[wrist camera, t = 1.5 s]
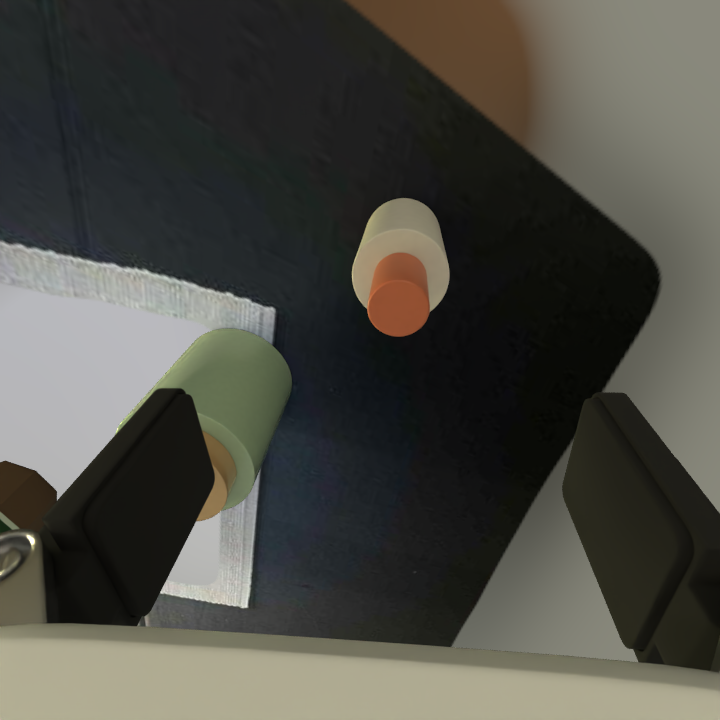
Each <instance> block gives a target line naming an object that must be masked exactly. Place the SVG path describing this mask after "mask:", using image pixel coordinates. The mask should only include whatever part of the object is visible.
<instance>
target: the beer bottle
mask: <svg viewBox="0 0 720 720" xmlns="http://www.w3.org/2000/svg"><path fill="white" fill-rule="evenodd" d="M56 502H57V491H56V490H55V489H54V488H53V487H52V486H51V485H50V484H49V483H48V482H47V481H46V480H45V479H44V478H43V477H42V476H40V475H39V474H38V473H37V472H36V471H35V470H31V469H29V468H26V467H23V466H19V465H17V464H14V463H11V462H8V461H3V462H0V533H3V532H6V531H9V530H14V529H21V528H24V529H32V530H34V531H35V532H38V531H39V530H40V529H41V528H42V527H43V526H44V522H43V521H42V517H43V516H44V515H45V514H46V513H47V512H48V511H49V510H50V508H51V507H52V506H53V505H54V504H55V503H56Z"/></svg>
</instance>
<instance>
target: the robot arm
mask: <svg viewBox="0 0 720 720" xmlns="http://www.w3.org/2000/svg"><path fill="white" fill-rule="evenodd" d="M214 482H215V473H214V469H213V466H212V462H211V459H210V456H209V452H208V449H207V445H206V442H205V439H204V435H203V432H202V428H201V425H200V421H199V418H198V415H197V411H196V408H195V404H194V401H193V398H192V396H191V395H189V394H186V392H185V391H184V390H183V389H181V388H158V389H156V390H155V391H154V392H153V393H152V394H151V395H150V397H149V398H148V399H147V400H146V401H145V402H144V403H143V405H142V406H141V407H140V408H139V409H138V410H137V411H136V412H135V414H134V415H133V416H132V417H131V418H130V419H129V420H128V421H127V423H126V424H125V425H124V426H123V427H122V428H121V429H120V430H119V432H118V433H117V434H116V435H115V436H114V437H113V438H112V440H111V441H110V442H109V443H108V444H107V445H106V446H105V448H104V449H103V450H102V451H101V452H100V453H99V454H98V455H97V457H96V458H95V459H94V460H93V461H92V462H91V463H90V464H89V466H88V467H87V468H86V469H85V470H84V471H83V472H82V473H81V475H80V476H79V477H78V478H77V479H76V480H75V481H74V482H73V484H72V485H71V486H70V487H69V488H68V489H67V491H65V493H64V494H63V495H62V496H61V497H60V498H59V499H58V501H57V502H56V503H55V504H54V505H53V506H52V507H51V508H50V510H49V511H48V512H47V513H46V514H45V515H44V516H43V517H42V521H43V522H44V526H43V527H42V528H41V529H40V530H39V531H38V532H35V531H34V530H32V529H24V528H21V529H14V530H9V531H6V532H3V533H0V720H720V513H719V512H718V511H717V510H716V509H715V507H714V506H713V504H712V503H711V502H710V501H709V499H708V498H707V497H706V495H705V494H704V493H703V492H702V490H701V489H700V488H699V486H698V485H697V484H696V483H695V481H694V480H693V479H692V478H691V476H690V475H689V474H688V472H687V471H686V470H685V468H684V467H683V466H682V465H681V463H680V462H679V461H678V460H677V459H676V458H675V457H674V455H673V454H672V453H671V451H670V450H669V449H668V448H667V446H666V445H665V444H664V442H663V441H662V440H661V439H660V437H659V436H658V435H657V433H656V432H655V431H654V429H653V428H652V427H651V426H650V424H649V423H648V422H647V420H646V419H645V418H644V417H643V415H642V414H641V413H640V411H639V410H638V409H637V408H636V406H635V405H634V404H633V403H632V401H631V400H630V398H629V397H628V396H627V395H626V394H624V393H599V392H597V393H595V394H594V395H593V396H592V399H586V400H585V401H584V403H583V407H582V411H581V415H580V418H579V422H578V426H577V430H576V434H575V438H574V442H573V446H572V450H571V454H570V458H569V461H568V465H567V469H566V473H565V477H564V481H563V486H562V488H563V489H562V490H563V497H564V501H565V503H566V506H567V508H568V510H569V513H570V515H571V518H572V520H573V523H574V525H575V527H576V530H577V533H578V535H579V537H580V540H581V542H582V545H583V547H584V550H585V552H586V555H587V557H588V559H589V562H590V564H591V567H592V569H593V572H594V574H595V577H596V579H597V582H598V584H599V587H600V589H601V591H602V594H603V596H604V599H605V601H606V604H607V606H608V608H609V611H610V614H611V616H612V618H613V621H614V623H615V626H616V628H617V631H618V633H619V635H620V638H621V640H622V642H623V644H624V645H625V646H626V647H627V648H629V649H633V650H634V652H635V655H636V657H637V659H638V662H629V661H618V660H607V659H596V658H585V657H574V656H561V655H549V654H535V653H522V652H508V651H495V650H481V649H467V648H455V647H442V646H428V645H414V644H400V643H385V642H371V641H357V640H342V639H328V638H313V637H298V636H284V635H269V634H253V633H237V632H222V631H206V630H190V629H174V628H159V627H142V626H137V625H138V623H139V621H140V619H141V617H142V616H146V615H147V614H148V613H149V612H150V611H151V609H152V607H153V605H154V603H155V601H156V599H157V597H158V595H159V593H160V591H161V589H162V587H163V586H164V584H165V582H166V580H167V578H168V576H169V574H170V571H171V570H172V568H173V566H174V564H175V562H176V560H177V558H178V556H179V554H180V552H181V550H182V548H183V546H184V544H185V542H186V540H187V538H188V536H189V534H190V532H191V530H192V528H193V526H194V524H195V522H196V520H197V518H198V516H199V514H200V512H201V510H202V508H203V506H204V504H205V502H206V500H207V499H208V497H209V495H210V493H211V491H212V489H213V486H214Z"/></svg>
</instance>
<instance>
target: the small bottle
mask: <svg viewBox="0 0 720 720" xmlns="http://www.w3.org/2000/svg"><path fill="white" fill-rule="evenodd" d="M352 282H353V287H354V290H355V293H356V295H357V297H358V299H359V300H360V302H361V303H362V304H363V305H364V306H365V307H366V308H367V311H368V316H369V318H370V320H371V322H372V324H373V325H374V326H375V327H376V328H377V329H378V330H379V331H381V332H383V333H385V334H387V335H390V336H397V337H400V336H407V335H410V334H412V333H414V332H416V331H417V330H419V329H420V328H421V327H422V326H423V325H424V324H425V322H426V320H427V318H428V316H429V312H430V311H432V310H433V309H434V308H435V307H436V306H437V305H438V304H439V303H440V301H441V300H442V298H443V297H444V295H445V293H446V290H447V287H448V284H449V265H448V261H447V256H446V252H445V248H444V244H443V240H442V235H441V231H440V227H439V223H438V221H437V218H436V217H435V215H434V213H433V212H432V211H431V210H430V209H429V208H428V207H427V206H426V205H424V204H423V203H421V202H419V201H417V200H413V199H408V198H399V199H394V200H391V201H388V202H386V203H384V204H383V205H381V206H380V207H379V208H378V209H377V210H376V211H375V212H374V213H373V214H372V216H371V217H370V219H369V221H368V224H367V227H366V229H365V232H364V235H363V238H362V241H361V243H360V246H359V249H358V252H357V255H356V258H355V261H354V264H353V269H352Z"/></svg>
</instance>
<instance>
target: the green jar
mask: <svg viewBox="0 0 720 720" xmlns="http://www.w3.org/2000/svg"><path fill="white" fill-rule="evenodd" d="M158 388H181V389H183V390H184V391H185V392H186V394H189V395H191V396H192V398H193V401H194V404H195V408H196V411H197V415H198V418H199V421H200V425H201V428H202V432H203V435H204V439H205V442H206V445H207V449H208V452H209V456H210V459H211V462H212V466H213V469H214V473H215V482H214V486H213V489H212V491H211V493H210V495H209V497H208V499H207V500H206V502H205V504H204V506H203V508H202V510H201V512H200V514H199V516H198V518H197V520H196V521H202V520H206V519H209V518H211V517H213V516H215V515H216V514H218V513H219V512H220V511H222V510H226V509H229V508H232V507H234V506H236V505H237V504H239V503H240V502H242V501H243V500H244V499H245V498H246V497H247V496H248V494H249V493H250V492H251V490H252V487H253V485H254V482H255V480H256V478H257V475H258V473H259V470H260V468H261V465H262V463H263V461H264V458H265V456H266V453H267V451H268V448H269V446H270V443H271V441H272V439H273V436H274V434H275V431H276V429H277V426H278V424H279V422H280V419H281V417H282V414H283V412H284V409H285V407H286V404H287V402H288V400H289V397H290V394H291V390H292V377H291V373H290V370H289V367H288V365H287V363H286V361H285V359H284V358H283V357H282V355H281V354H280V353H279V352H278V350H277V349H276V348H275V347H273V346H272V345H271V344H270V343H269V342H267V341H266V340H264V339H263V338H261V337H259V336H257V335H255V334H252V333H250V332H247V331H243V330H238V329H218V330H213V331H210V332H208V333H205V334H203V335H202V336H200V337H199V338H198V339H197V340H195V342H194V343H193V344H192V345H191V346H190V347H189V348H188V349H187V350H186V351H185V353H184V354H183V355H182V356H181V357H180V358H179V359H178V360H177V361H176V362H175V364H174V365H173V366H172V367H171V368H170V369H169V370H168V371H167V372H166V373H165V375H164V376H163V377H162V378H161V379H160V380H159V381H158V382H157V383H156V385H155V386H154V387H153V388H152V389H151V390H150V391H149V392H148V393H147V394H146V396H145V397H144V398H143V399H142V400H141V401H140V402H139V403H138V404H137V406H136V407H135V408H134V409H133V410H132V411H131V412H130V413H129V414H128V416H127V417H126V418H125V419H124V420H123V421H122V422H121V424H120V425H119V427H118V428H117V431H116V434H117V433H118V432H119V430H120V429H121V428H122V427H123V426H124V425H125V424H126V423H127V421H128V420H129V419H130V418H131V417H132V416H133V415H134V414H135V412H136V411H137V410H138V409H139V408H140V407H141V406H142V405H143V403H144V402H145V401H146V400H147V399H148V398H149V397H150V395H151V394H152V393H153V392H154V391H155V390H156V389H158ZM116 434H115V435H116Z"/></svg>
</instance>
